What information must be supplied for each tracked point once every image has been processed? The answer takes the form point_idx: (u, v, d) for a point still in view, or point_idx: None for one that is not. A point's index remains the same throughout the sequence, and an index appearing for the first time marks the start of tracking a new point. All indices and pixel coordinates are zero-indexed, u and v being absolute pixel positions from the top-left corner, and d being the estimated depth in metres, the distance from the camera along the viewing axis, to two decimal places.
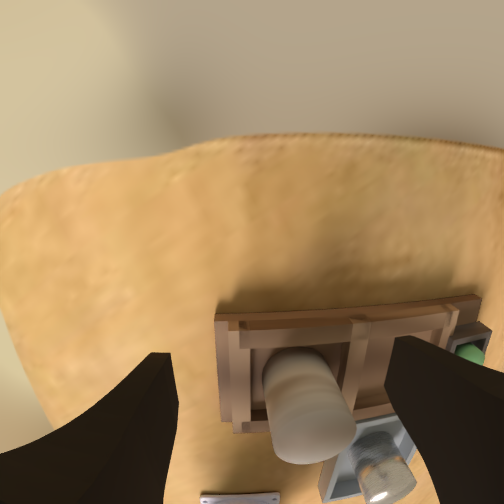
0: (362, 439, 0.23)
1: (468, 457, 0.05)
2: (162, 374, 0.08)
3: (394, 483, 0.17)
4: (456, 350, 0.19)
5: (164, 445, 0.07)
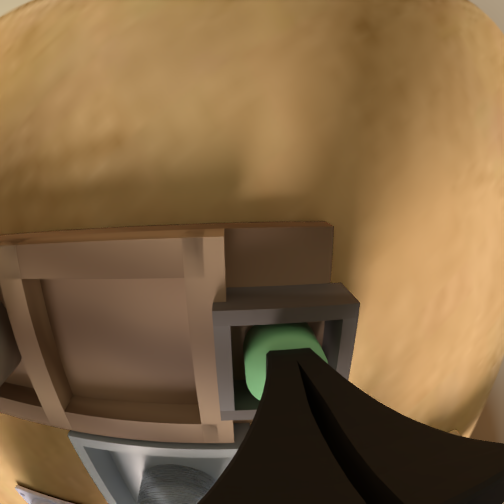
0: (151, 469, 0.14)
1: None
2: None
3: None
4: (252, 333, 0.10)
5: None
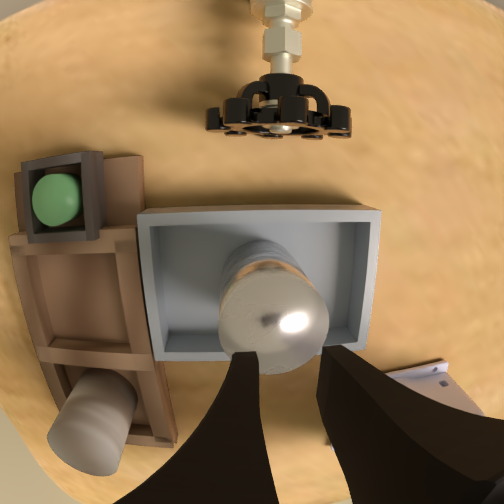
0: None
1: (379, 490, 0.05)
2: None
3: (222, 341, 0.12)
4: None
5: None
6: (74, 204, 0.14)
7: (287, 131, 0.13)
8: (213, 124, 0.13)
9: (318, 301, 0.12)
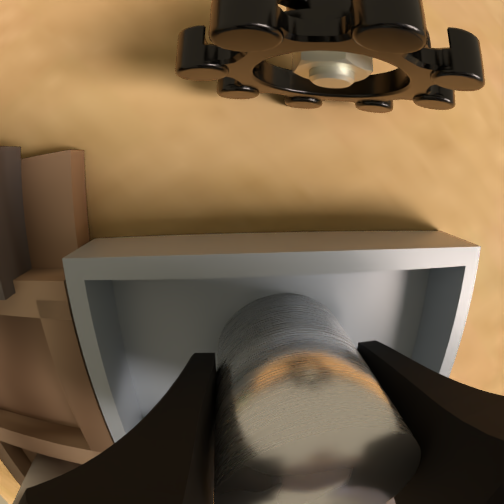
0: None
1: (425, 475, 0.05)
2: (212, 374, 0.08)
3: None
4: None
5: (213, 447, 0.07)
6: None
7: (347, 80, 0.06)
8: (191, 58, 0.05)
9: (410, 448, 0.05)
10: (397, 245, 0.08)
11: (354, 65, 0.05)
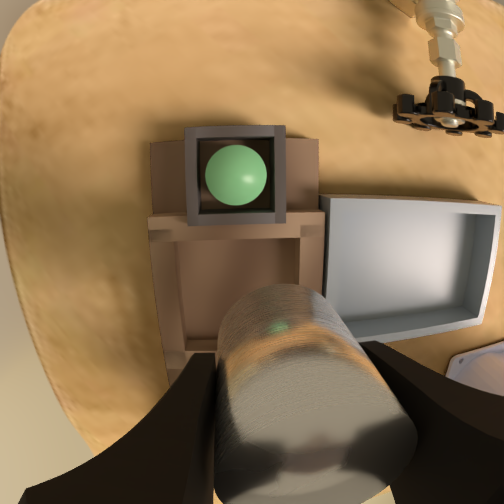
0: None
1: (425, 475, 0.05)
2: (212, 374, 0.08)
3: (222, 496, 0.05)
4: None
5: (213, 447, 0.07)
6: (264, 182, 0.14)
7: (456, 126, 0.13)
8: (410, 109, 0.12)
9: (407, 431, 0.05)
10: (466, 202, 0.16)
11: (461, 121, 0.12)
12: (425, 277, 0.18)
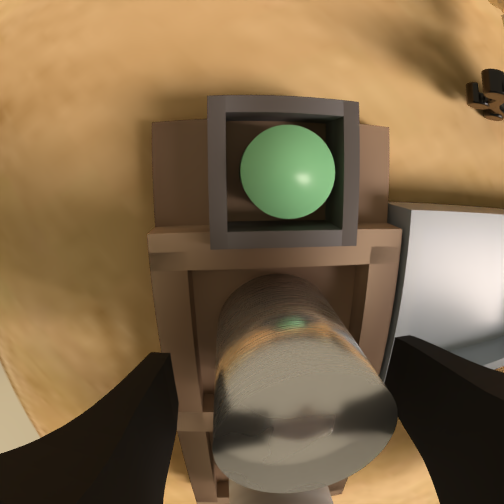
0: None
1: (468, 457, 0.05)
2: (162, 374, 0.08)
3: (220, 462, 0.06)
4: None
5: (164, 446, 0.07)
6: (330, 184, 0.09)
7: None
8: (501, 88, 0.08)
9: (386, 402, 0.06)
10: None
11: None
12: (488, 303, 0.13)
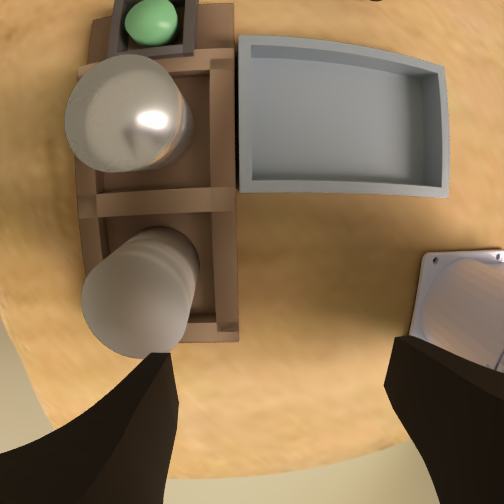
0: None
1: (468, 457, 0.05)
2: (162, 374, 0.08)
3: (67, 130, 0.10)
4: (139, 45, 0.13)
5: (164, 446, 0.07)
6: (174, 22, 0.12)
7: None
8: None
9: (164, 77, 0.09)
10: None
11: None
12: (368, 138, 0.17)
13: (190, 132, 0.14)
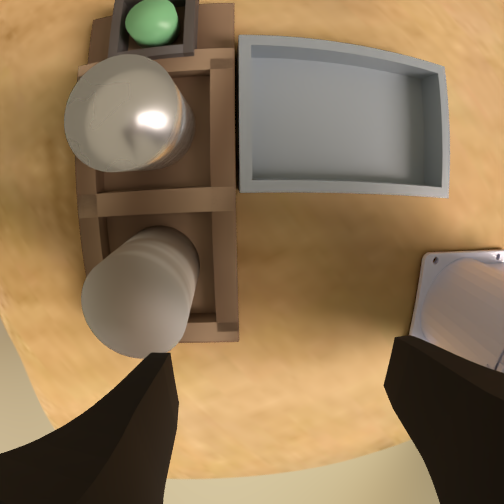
0: None
1: (468, 457, 0.05)
2: (162, 374, 0.08)
3: (67, 129, 0.10)
4: (139, 45, 0.13)
5: (164, 445, 0.07)
6: (175, 21, 0.12)
7: None
8: None
9: (163, 76, 0.09)
10: None
11: None
12: (368, 138, 0.17)
13: (190, 132, 0.14)
